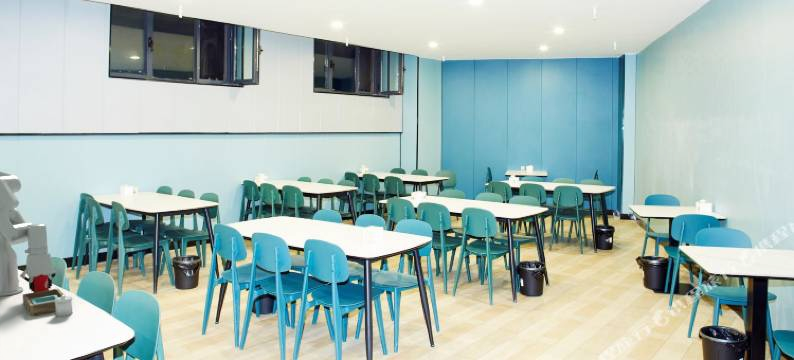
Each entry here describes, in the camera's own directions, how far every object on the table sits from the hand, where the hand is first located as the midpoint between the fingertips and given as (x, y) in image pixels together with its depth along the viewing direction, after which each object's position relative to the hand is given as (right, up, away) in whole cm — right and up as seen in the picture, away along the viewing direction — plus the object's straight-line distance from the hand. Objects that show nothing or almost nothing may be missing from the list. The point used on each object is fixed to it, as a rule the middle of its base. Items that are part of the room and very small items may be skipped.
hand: (40, 288), depth 274 cm
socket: (+11, -5, -15) cm, 20 cm away
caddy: (+11, -5, -15) cm, 20 cm away
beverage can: (0, -4, 0) cm, 4 cm away
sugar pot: (+25, -6, -26) cm, 37 cm away
